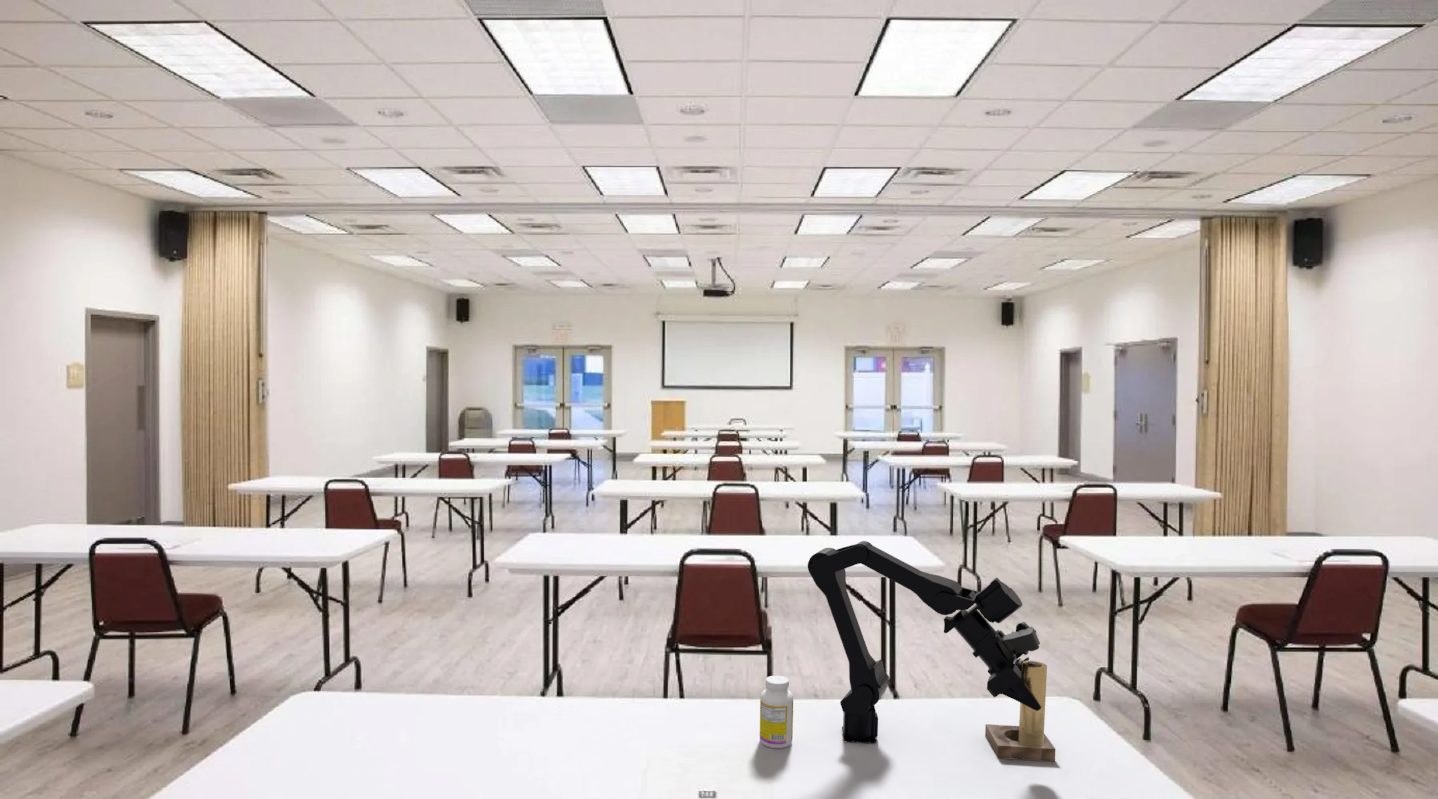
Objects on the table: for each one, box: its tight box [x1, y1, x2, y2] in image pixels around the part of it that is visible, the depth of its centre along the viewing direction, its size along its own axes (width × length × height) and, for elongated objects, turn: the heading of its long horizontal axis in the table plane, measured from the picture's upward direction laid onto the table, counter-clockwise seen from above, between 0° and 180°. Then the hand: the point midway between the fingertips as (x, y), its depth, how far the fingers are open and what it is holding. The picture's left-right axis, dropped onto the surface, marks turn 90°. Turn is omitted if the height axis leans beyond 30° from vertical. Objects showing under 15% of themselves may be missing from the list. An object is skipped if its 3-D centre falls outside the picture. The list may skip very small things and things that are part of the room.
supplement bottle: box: [759, 675, 794, 749], centre depth 167 cm, size 7×7×13 cm
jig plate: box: [984, 723, 1056, 763], centre depth 167 cm, size 11×10×2 cm
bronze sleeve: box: [1018, 660, 1048, 748], centre depth 156 cm, size 4×4×15 cm
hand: (1040, 704), depth 156 cm, fingers closed on bronze sleeve, 4 cm apart
